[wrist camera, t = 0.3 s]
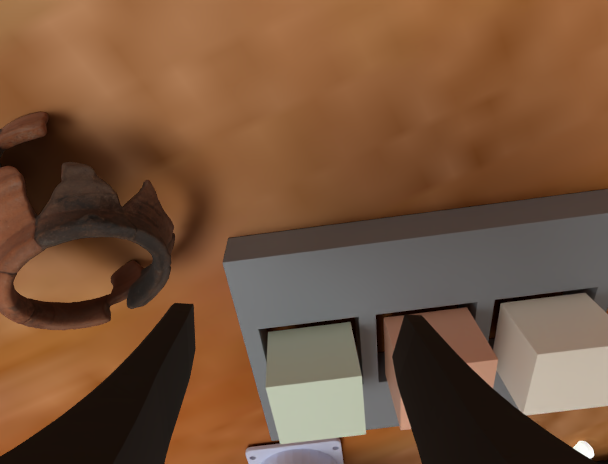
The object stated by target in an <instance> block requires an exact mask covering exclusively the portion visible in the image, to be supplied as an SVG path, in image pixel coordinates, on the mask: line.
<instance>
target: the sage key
mask: <svg viewBox="0 0 608 464" xmlns="http://www.w3.org/2000/svg"><path fill="white" fill-rule="evenodd" d="M266 391H267V395H268V399H269V403H270V407H271V410H272V414H273V418H274V422H275V426H276V430H277V433H278V437H279V441H280V444H288V443H296V442H305V441H313V440H322V439H330V438H339V437H347V436H356V435H364V434H366V426H365V413H364V399H363V386H362V375H361V370H360V365H359V360H358V355H357V351H356V346H355V341H354V336H353V332H352V327H351V322H345V323H337V324H328V325H320V326H312V327H304V328H296V329H288V330H280V331H272V332H268V345H267V367H266Z"/></svg>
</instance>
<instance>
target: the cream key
mask: <svg viewBox="0 0 608 464" xmlns="http://www.w3.org/2000/svg"><path fill="white" fill-rule="evenodd" d="M493 351H494V353H495V355H496V356H497V358H498V364H497V372H498V374H499V376H500V377H501V379H502V381H503V383H504V384H505V386H506V388H507V390H508V391H509V393H510V395H511V397H512V398H513V400H514V402H515V403H516V405H517V407H518V409H519V410H520V411H521V412H522V413H523V414H525V415H534V414H543V413H551V412H560V411H568V410H577V409H585V408H594V407H602V406H608V314H607V313H606V312H605V311H604V310H603V309H602V308H601V307H600V306H599V305H598V304H597V303H596V302H595V301H593V300H592V299H591V298H590V297H589V296H588V295H587V294H586V293H578V294H570V295H562V296H554V297H546V298H538V299H529V300H521V301H513V302H505V303H501V304H500V310H499V316H498V323H497V329H496V335H495V341H494V347H493Z"/></svg>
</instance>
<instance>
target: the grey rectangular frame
mask: <svg viewBox="0 0 608 464" xmlns="http://www.w3.org/2000/svg"><path fill="white" fill-rule="evenodd" d="M223 266H224V270H225V273H226V277H227V280H228V284H229V288H230V291H231V295H232V299H233V302H234V306H235V309H236V313H237V317H238V320H239V324H240V328H241V331H242V335H243V338H244V342H245V346H246V349H247V353H248V356H249V360H250V364H251V367H252V371H253V375H254V378H255V382H256V385H257V389H258V393H259V396H260V400H261V404H262V407H263V411H264V414H265V418H266V422H267V425H268V429H269V433H270V436H271V440H272V441H276V440H279V437H278V433H277V430H276V426H275V422H274V418H273V414H272V410H271V407H270V403H269V399H268V395H267V391H266V367H267V345H268V333H267V329H266V328H273V327H281V326H289V325H297V324H305V323H313V322H321V321H329V320H337V319H345V318H353V317H355V329H356V341H357V354H358V360H359V365H360V370H361V375H362V386H363V399H364V413H365V426H366V430H369V429H377V428H386V427H394V426H399V422H398V419H397V415H396V411H395V408H394V404H393V400H392V397H391V393H390V389H389V386H388V382H387V378H386V375H385V352H381V353H377V333H376V315H377V314H385V313H393V312H401V311H409V310H417V309H425V308H433V307H441V306H449V305H457V304H459V305H458V308H465V307H467V308H468V310H469V311H470V313H471V315H472V316H473V318H474V320H475V321H476V323H477V325H478V326H479V328H480V330H481V331H482V333H483V335H484V336H485V338H486V340H487V341H488V343H489V345H490V346H491V348H492V350H493V347H494V341H495V339H489V334H490V328H491V321H492V315H493V308H494V302H495V300H498V299H506V298H514V297H522V296H530V295H538V294H546V293H554V292H562V291H564V293H563V295H570V294H578V293H586V294H587V295H588V296H589V297H590V298H591V299H592V300H593V301H595V302H596V303H597V304H598V305H599V306H600V307H601V308H602V309H603V310H604V311H605V312H606V311H607V308H608V189H604V190H596V191H588V192H581V193H573V194H565V195H557V196H550V197H542V198H534V199H527V200H519V201H511V202H504V203H496V204H488V205H481V206H473V207H465V208H458V209H450V210H442V211H434V212H427V213H419V214H411V215H404V216H396V217H388V218H381V219H373V220H365V221H358V222H350V223H342V224H335V225H327V226H319V227H312V228H304V229H296V230H288V231H281V232H273V233H265V234H258V235H250V236H242V237H235V238H228V241H227V246H226V250H225V254H224V259H223ZM493 389H494V390H495V391H496V392H498V393H499V394H500V395H501V396H502V397H504V398H505V399H506V400H507V401H508V402H510V403H511V404H512V405H513V406H514V407H516V408H517V409H518V407H517V405H516V403H515V402H514V400H513V398H512V397H511V395H510V393H509V391H508V390H507V388H506V386H505V384H504V383H503V381H502V379H501V377H500V376H499V374H498V372H497V370H496V375H495V381H494V387H493ZM518 410H519V409H518ZM519 411H520V410H519Z"/></svg>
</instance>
